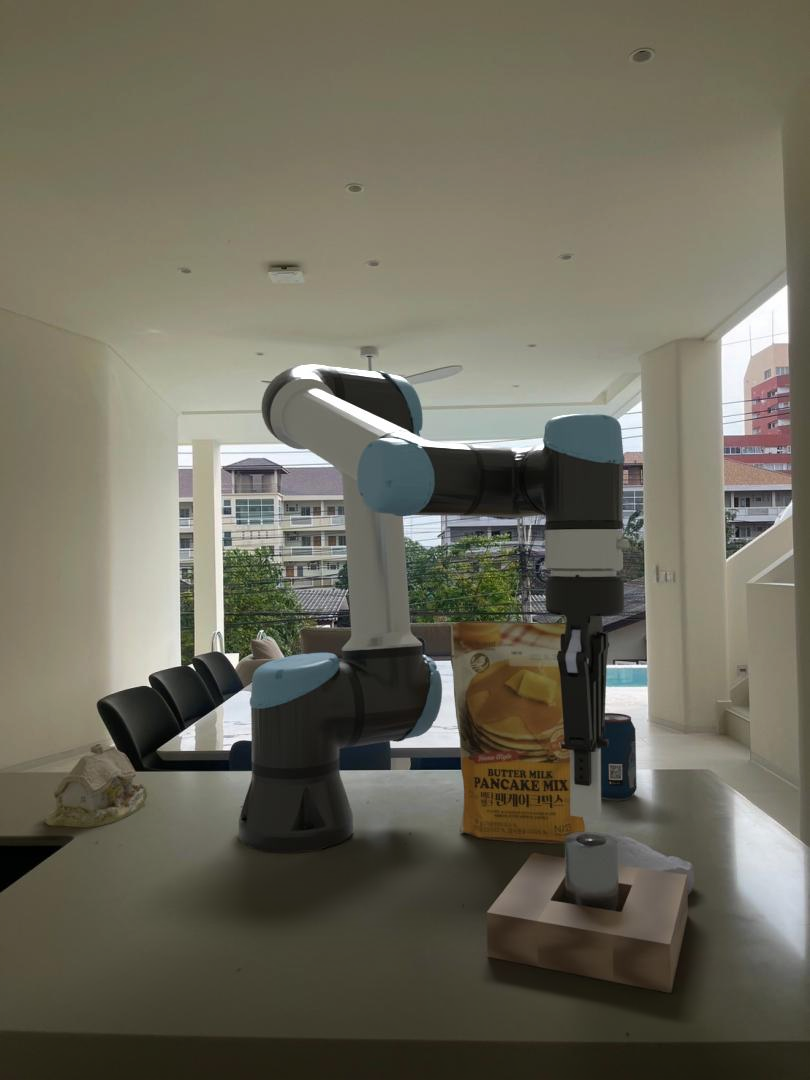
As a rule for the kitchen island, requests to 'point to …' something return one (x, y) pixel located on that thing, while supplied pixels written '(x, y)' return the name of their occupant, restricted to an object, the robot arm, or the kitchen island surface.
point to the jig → (592, 925)
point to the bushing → (592, 870)
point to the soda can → (618, 758)
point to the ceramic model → (97, 790)
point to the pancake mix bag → (512, 731)
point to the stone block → (651, 859)
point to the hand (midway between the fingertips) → (585, 814)
